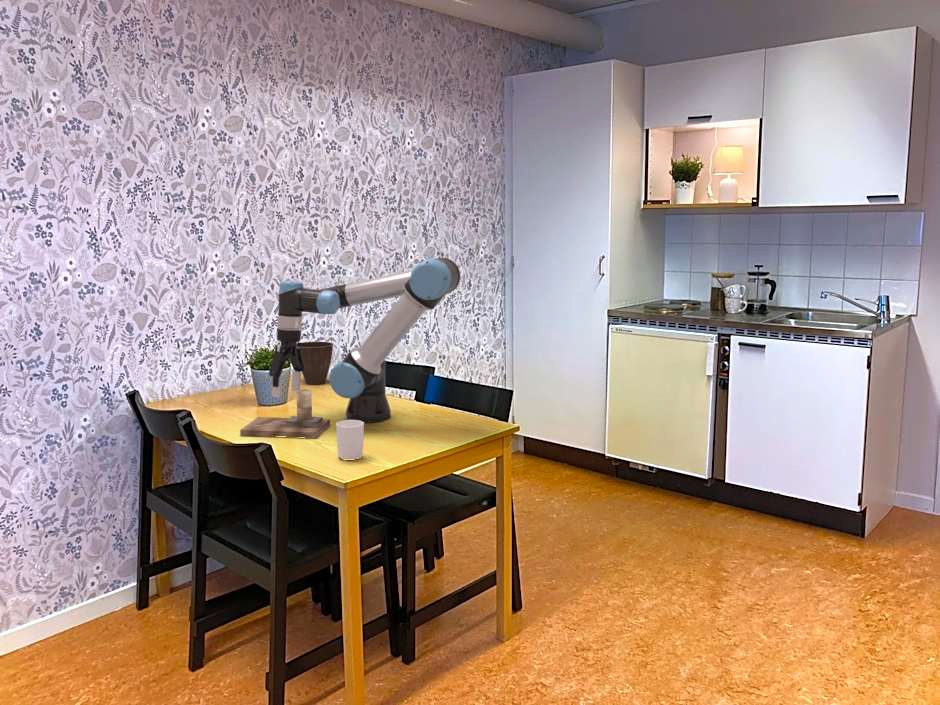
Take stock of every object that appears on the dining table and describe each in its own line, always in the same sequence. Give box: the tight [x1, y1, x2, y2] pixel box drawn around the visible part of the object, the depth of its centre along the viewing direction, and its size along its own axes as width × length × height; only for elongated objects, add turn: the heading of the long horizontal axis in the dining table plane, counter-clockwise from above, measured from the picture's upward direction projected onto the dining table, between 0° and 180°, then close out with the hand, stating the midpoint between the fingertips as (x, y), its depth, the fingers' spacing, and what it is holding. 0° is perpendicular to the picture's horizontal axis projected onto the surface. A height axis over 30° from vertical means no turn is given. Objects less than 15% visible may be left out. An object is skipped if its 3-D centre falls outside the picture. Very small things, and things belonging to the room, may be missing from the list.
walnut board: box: [239, 416, 331, 439], centre depth 255 cm, size 24×16×2 cm, turn 84°
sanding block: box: [286, 389, 324, 428], centre depth 253 cm, size 10×6×11 cm, turn 84°
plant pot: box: [300, 341, 334, 386], centre depth 325 cm, size 15×15×16 cm
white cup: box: [335, 419, 365, 459], centre depth 227 cm, size 8×8×10 cm
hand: (286, 393), depth 262 cm, fingers open, 13 cm apart
